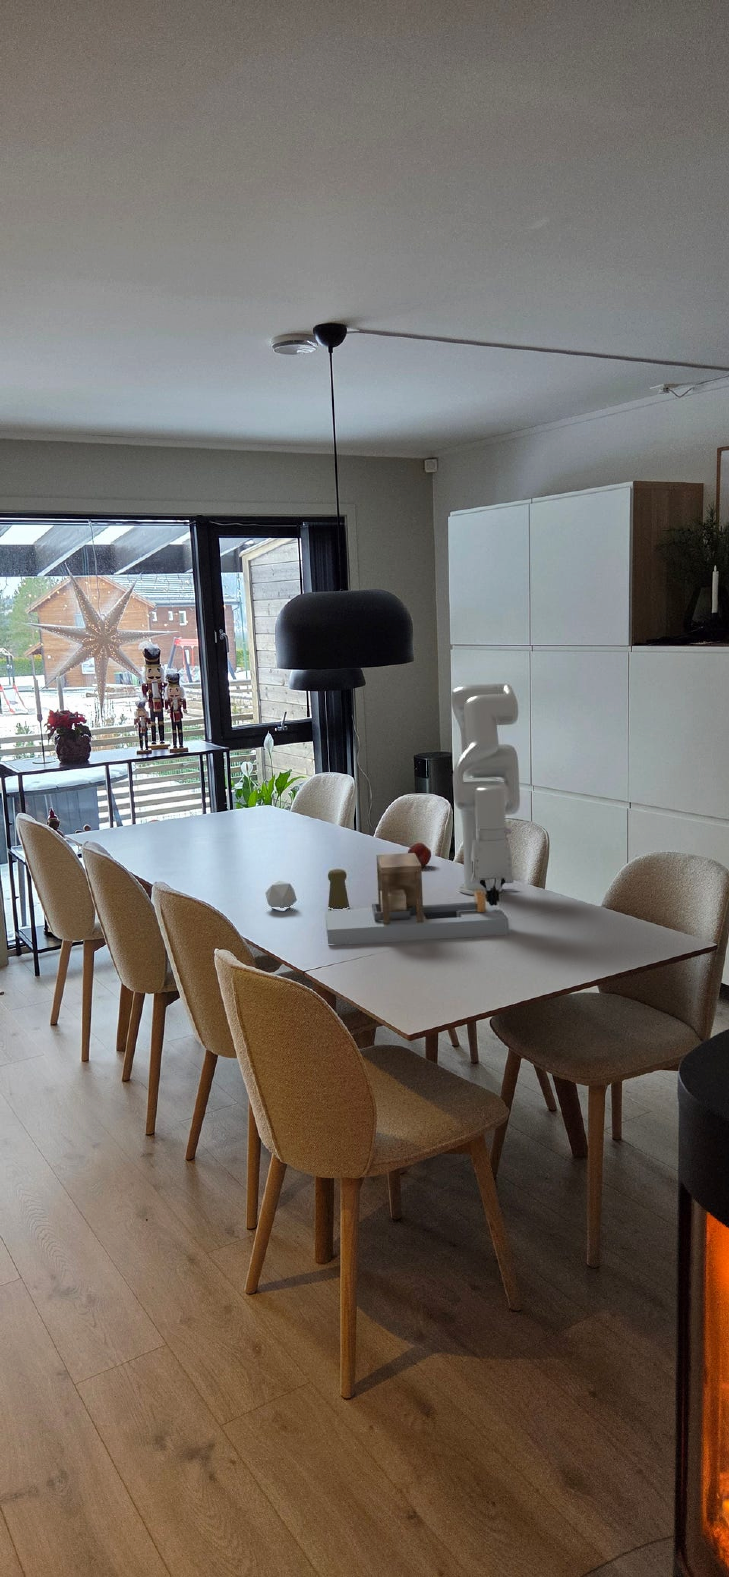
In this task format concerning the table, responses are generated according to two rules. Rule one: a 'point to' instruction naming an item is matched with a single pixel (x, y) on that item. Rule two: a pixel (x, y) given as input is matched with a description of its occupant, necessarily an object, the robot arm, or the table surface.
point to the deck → (413, 925)
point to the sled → (433, 908)
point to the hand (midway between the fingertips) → (492, 904)
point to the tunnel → (400, 881)
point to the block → (395, 900)
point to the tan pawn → (337, 889)
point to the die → (281, 895)
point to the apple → (421, 853)
